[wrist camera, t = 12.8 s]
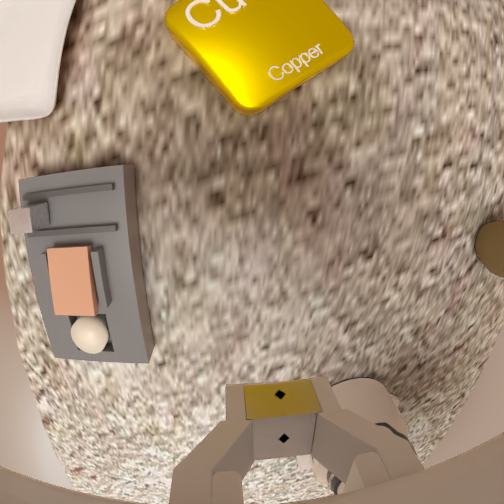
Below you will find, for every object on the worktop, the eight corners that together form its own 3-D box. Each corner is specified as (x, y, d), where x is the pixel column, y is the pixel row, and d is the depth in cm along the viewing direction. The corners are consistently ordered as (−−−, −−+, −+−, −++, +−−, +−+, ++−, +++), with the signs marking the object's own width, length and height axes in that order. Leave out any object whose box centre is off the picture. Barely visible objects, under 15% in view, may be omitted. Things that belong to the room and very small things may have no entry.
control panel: (154, 345, 38) (146, 371, 32) (66, 341, 37) (50, 364, 31) (134, 163, 32) (117, 165, 26) (36, 176, 30) (10, 181, 25)
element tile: (244, 124, 32) (247, 118, 27) (163, 29, 28) (155, 12, 23) (348, 56, 30) (364, 44, 26) (268, -31, 26) (274, -51, 22)
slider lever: (49, 224, 28) (32, 232, 25) (28, 226, 28) (10, 234, 24) (47, 201, 27) (29, 207, 24) (26, 204, 27) (7, 210, 24)
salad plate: (-44, 135, 27) (-59, 136, 24) (-16, 6, 21) (-27, 0, 18) (65, 119, 29) (51, 116, 26) (99, -30, 24) (91, -42, 20)
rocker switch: (98, 312, 30) (94, 316, 29) (59, 311, 30) (55, 314, 28) (91, 245, 29) (87, 246, 28) (52, 247, 29) (46, 248, 28)
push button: (115, 341, 35) (109, 354, 32) (84, 339, 35) (76, 352, 32) (108, 308, 34) (100, 320, 31) (76, 308, 33) (66, 319, 30)
